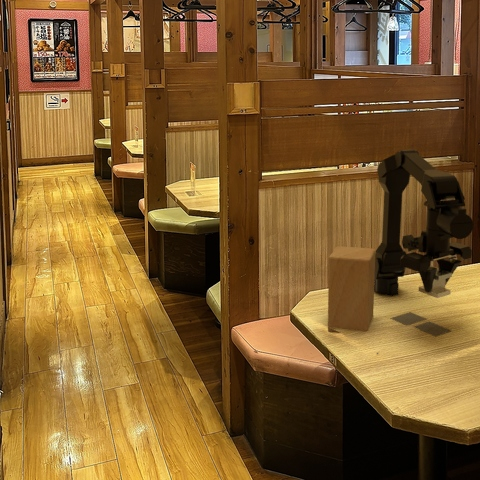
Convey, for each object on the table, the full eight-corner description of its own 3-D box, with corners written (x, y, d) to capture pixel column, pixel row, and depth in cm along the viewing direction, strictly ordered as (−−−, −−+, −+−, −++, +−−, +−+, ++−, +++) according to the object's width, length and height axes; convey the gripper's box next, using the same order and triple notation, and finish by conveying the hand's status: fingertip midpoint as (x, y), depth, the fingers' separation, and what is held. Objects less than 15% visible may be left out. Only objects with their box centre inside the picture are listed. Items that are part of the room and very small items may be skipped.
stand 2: (412, 332, 166) (413, 326, 166) (429, 326, 169) (429, 321, 169) (435, 342, 160) (435, 336, 160) (451, 336, 163) (452, 330, 163)
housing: (431, 287, 165) (432, 266, 164) (450, 294, 160) (451, 272, 159) (418, 291, 163) (419, 269, 162) (437, 298, 158) (438, 276, 157)
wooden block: (373, 321, 173) (375, 248, 168) (367, 337, 164) (369, 259, 159) (335, 317, 176) (336, 245, 171) (327, 332, 167) (328, 256, 162)
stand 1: (389, 323, 172) (390, 318, 171) (410, 317, 175) (410, 312, 175) (406, 331, 167) (406, 325, 167) (426, 324, 171) (427, 318, 170)
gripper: (439, 215, 169) (435, 274, 173) (385, 227, 159) (382, 288, 163) (475, 224, 160) (470, 285, 164) (420, 237, 150) (416, 301, 154)
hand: (434, 290), depth 162 cm, fingers closed on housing, 4 cm apart
